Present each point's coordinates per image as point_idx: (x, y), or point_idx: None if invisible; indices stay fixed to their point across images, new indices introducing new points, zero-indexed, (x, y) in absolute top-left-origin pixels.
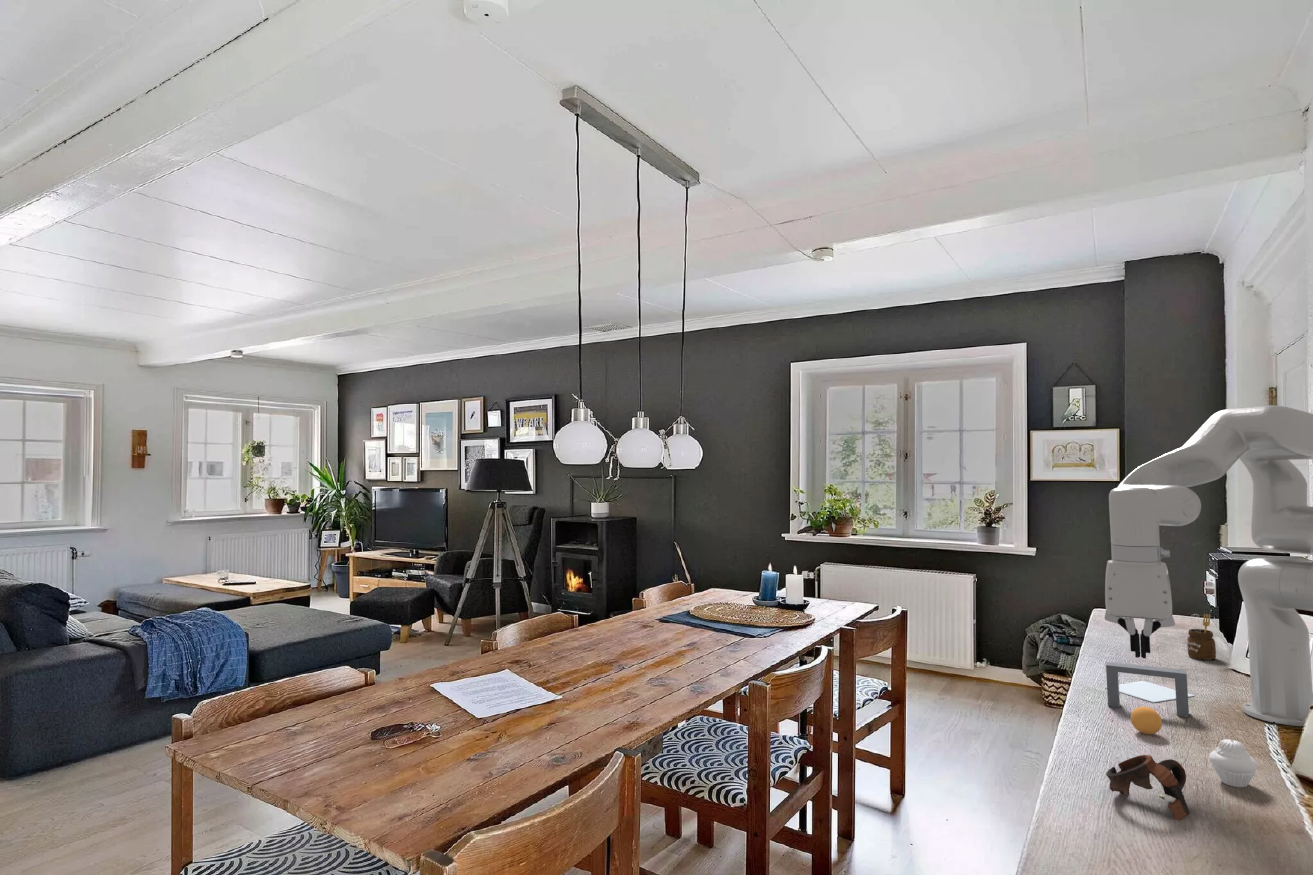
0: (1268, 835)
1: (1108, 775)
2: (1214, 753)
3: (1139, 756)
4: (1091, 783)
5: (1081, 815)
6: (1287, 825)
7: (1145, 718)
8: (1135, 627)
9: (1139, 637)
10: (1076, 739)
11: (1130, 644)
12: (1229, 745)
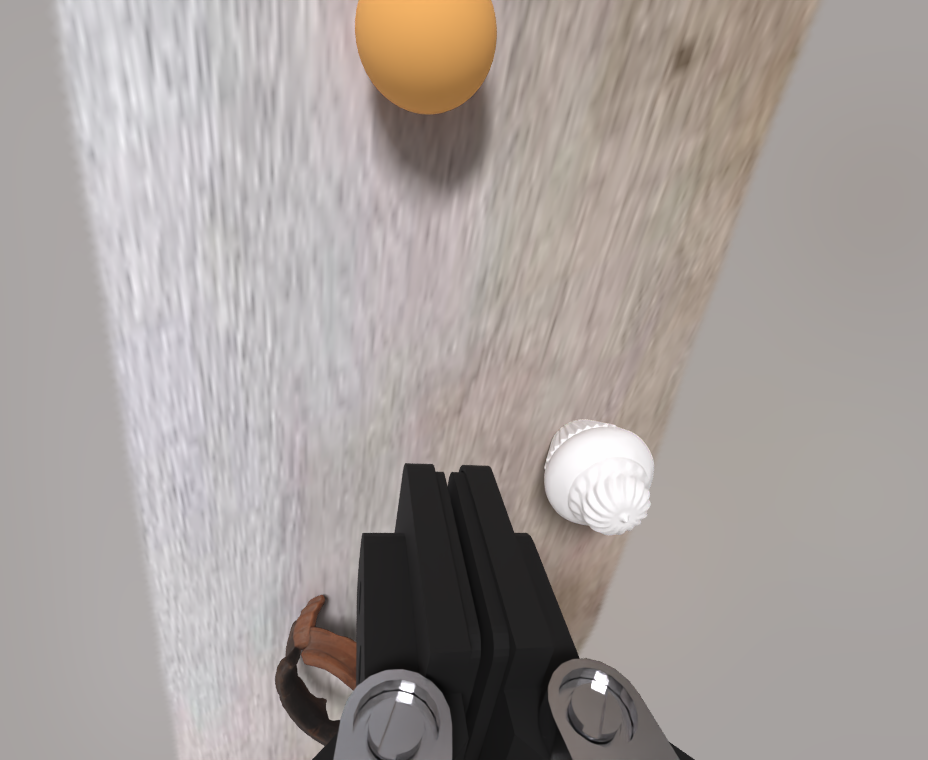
0: None
1: (281, 702)
2: (562, 497)
3: (352, 689)
4: (242, 581)
5: (240, 711)
6: (594, 593)
7: (420, 108)
8: (451, 750)
9: (470, 610)
10: (140, 249)
11: (357, 650)
12: (607, 532)
